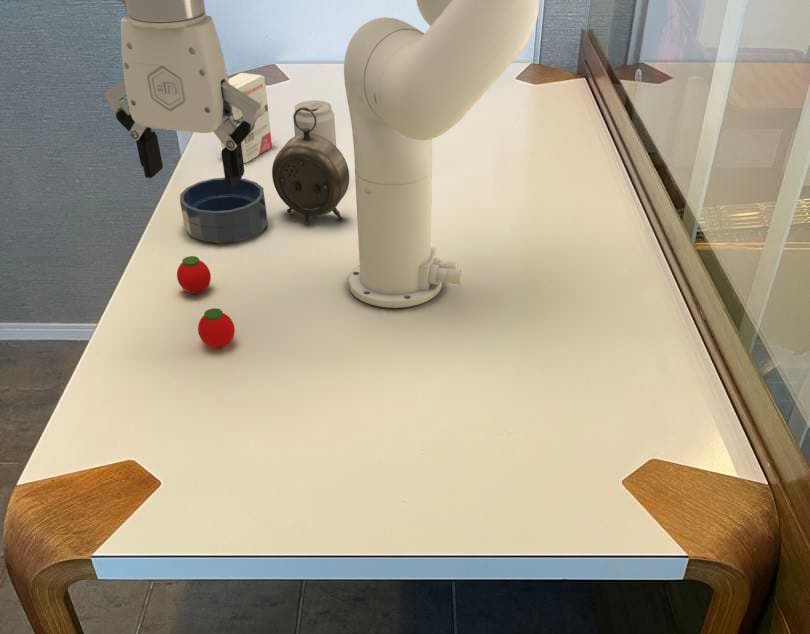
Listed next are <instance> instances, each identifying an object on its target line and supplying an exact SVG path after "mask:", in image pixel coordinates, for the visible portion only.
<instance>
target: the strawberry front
mask: <svg viewBox="0 0 810 634" xmlns="http://www.w3.org/2000/svg"><path fill="white" fill-rule="evenodd" d="M235 332H236V327H235V325H234V322H233V320H232V319H231V317H230V316H229V315H228V314H226V313H225V312H223V310H222V309H220V308H215V307H214V308H208V309H206V310H205V311H204V313H203V315H202V317H201V318H200V319H199V322H198V325H197V333H198V336H199V338H200V340H201V341H202V342H203V344H205V345H206V346H208V347H210V348H213V349H221V348H225V347H226V346H228V345H229V344H231V342H232V341H233V339H234V337H235Z"/></svg>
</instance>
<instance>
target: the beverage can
mask: <svg viewBox="0 0 810 634" xmlns="http://www.w3.org/2000/svg"><path fill="white" fill-rule="evenodd" d="M300 107H307V108H309V109H311V110H312V111H313V113H314V114H315V116H316V119H317V122H316V126H315V128H314V129H313V130H312V131H310V132H309V133H310V134H316V135H319V136H322V137H324V138H326V139H327V140H329V141H330V142H332V143H333V144H334V145H335V146H336V147H337V138H336V136H337V135H336V123H335V122H336V121H335V113H334V111H333V110H332V105H331V103H329V102H327V101H323V100H305V101H301V102H299V103H297V104H295V105H294V110H295V111H294V113H295V112H296V110H297V109H299V108H300ZM292 118H293V119H292V120H293V129H294V131H293V132H294V136H297V135H300V134H304V132H303V131H301V130H300V129H298V128H297V126H296V125H295V122H294V114H293V115H292ZM296 122H297V124H298V126H299V127H300V128H302V129H304V128H305V127H307V128H309V129H312V128H313V126H314V123H315V120H314V117H313V115H312V113H311V112H309V111H308V110H300V111H299V112H298V113H297V115H296Z"/></svg>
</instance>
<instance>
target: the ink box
mask: <svg viewBox="0 0 810 634" xmlns="http://www.w3.org/2000/svg"><path fill="white" fill-rule="evenodd" d="M228 81H229V84H230V85H232V86H233V87H235V88H236V89H238V90H239V91H241V92H243V93H244V94H246V95H247V96H249V97H250V98H252V99H253V100H255V101H257V102H258V103H259V104H260V106H261V109H260V112H259V115H258V117H257V120H256V122H255V126H254V129H253V130H252V131H251V132H250V133H249V134H248V136H247V137H246V138H245V139H244V141H243V142H242V143H241V146H242V154H243V162H244V164H247V163H248V162H250V161H251V160H253V159H255V158H257V157H258V156H260V155H261V154H263V153H264V152H266V151H268V150H269V149H271V148H272V147H273V142H272V132H271V125H270V124H271V123H270V114H269V105H268V98H267V97H268V96H267V88H266V79H265V76H264V75H262V74H255V73H246V72H240V73H238V74H236V75H234V76H231V77H230V78H228ZM242 116H243V115H242V112H241V111H240V110H239V109H237V108H236V107H234V106H233V105H232V115H231V118H232V119H233V120H234V122H235V123H236V124H237V125H238V126H239V125H240V123H241V120H242ZM220 145H221V151H222V150H223V149H224V148H225V145H224V144H223V143H222V142H221V141H220Z"/></svg>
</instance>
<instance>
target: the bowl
mask: <svg viewBox="0 0 810 634" xmlns="http://www.w3.org/2000/svg"><path fill="white" fill-rule="evenodd" d="M264 190H265V189H264V187H263V186H261V185H260V184H259V183H258V182H257V181H254V180H249V179H247V178H243V177H242V178H241V179H240V180H239V181H238V182H237V184H236V185H235V186H234V187H228V186H227V185H226V182H225V177H218V178H217V177H216V178H215V177H214V178H209V179H205V180H201V181H198V182H195V183H194V184H192V185H190V186H188V187H186V188H185V189H184V190H183V191H182V192H181V193H180V194H179V203H180V204H179V205H180V209H181V214H182V218H183V224H184V228H185V231H186V232H187V233H188V234H189V235H190V236H191V237H193V238H196V239H198V240H201V241H203V242H212V243H233V242H238V241H242V240H245V239H248V238H251V237H253V236H255V235H257V234H259V233H261V232H262V231H263V230H264V229H265V228H266V226H267V225H268V223H269V222H268V214H267V207H266V198H265V191H264Z"/></svg>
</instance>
